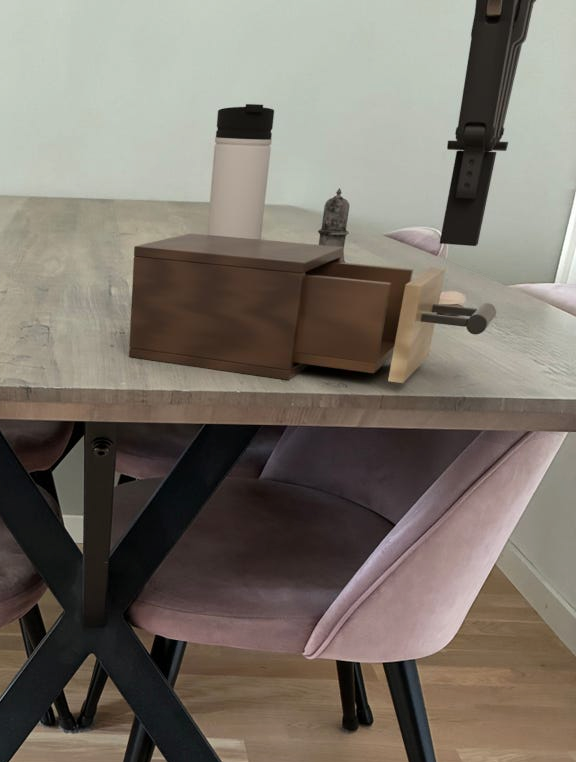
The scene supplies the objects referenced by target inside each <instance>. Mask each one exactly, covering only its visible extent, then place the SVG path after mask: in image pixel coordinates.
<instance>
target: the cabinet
mask: <svg viewBox="0 0 576 762" xmlns="http://www.w3.org/2000/svg"><path fill="white" fill-rule="evenodd" d="M343 249H344V250H345V247H344V248H343V247H336V246H325V245H319V244H313V243H303V242H291V241H290V242H289V241H279V240H269V239H261V240H258V239H247V238H236V237H225V236H214V235H207V234H201V233H191V232H190V233H185V234H182V235H178V236H173V237H168V238H165V239H160V240H156V241H151V242H147V243H144V244H138V245H135V246H134V248H133V264H132V265H133V267H132V268H133V269H132V286H131V288H132V289H131V304H130V305H131V307H130V308H131V309H130V324H129V325H130V328H129V344H128V345H129V347H128V349H129V350H128V357H129V358H133V359H141V360H149V361H156V362H162V363H169V364H177V365H184V366H190V367H195V368H201V369H203V368H204V369H210V370H216V371H217V370H218V371H222V372H223V371H224V372H230V373H237V374H243V375H244V374H245V375H252V376H256V377H257V376H258V377H264V378H272V379H279V380H286V381H290V380H291V379H293V378H294V377H295V376H296V375H298V374H299V373H301V372H302V371H304V370H305V369H306V368H308V367H309V366H311V365H310V364H303V363H295V362H294V355H295V348H296V340H297V333H298V325H299V317H300V310H301V302H302V295H303V287H304V280H305V273H304V272H307V271H309V270H311V269H314V268H316V267H319V266H321V265H323V264H326V263H328V262H330V261H332V262H342V255H343Z"/></svg>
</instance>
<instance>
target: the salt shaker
mask: <svg viewBox="0 0 576 762" xmlns="http://www.w3.org/2000/svg"><path fill="white" fill-rule="evenodd" d="M335 193H336V195H334V196H333V197H331V198H329V199H327V200H326V201H325V204H324V207H323V214H322V221H321V222H322V223H321V228H320V229H318V230H317V233H318V234H319V240H318V245H325V246H336V247H343V248H344V249H343V255H342V262H343V263H347V261H345V244H346V238H347V236H348V235H350V232H349V231H348V230H347V225H348V220H349V212H350V203H349V201H348V200H347V199H346V198H344V197H343V196H342V195H341V194H342V190H341V188H338V189H337V190H336V192H335Z"/></svg>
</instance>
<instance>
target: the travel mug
mask: <svg viewBox="0 0 576 762" xmlns="http://www.w3.org/2000/svg"><path fill="white" fill-rule="evenodd" d="M274 117H275V110H274V109H273V108H269V107H264V104H259V103H258V104H257V103H256V104H255V103H245V106H232V107H223V108H221V109H218V110H217V117H216V118H217V119H216V128H217V130H216V131H215V138H214V142H215V145H214V146H213V147H214V148H213V160H212V171H211V185H210V196H209V207H208V219H207V231H206V235H214V236H225V237H236V238H247V239H258V240H262V232H263V223H264V214H265V204H266V196H267V187H268V186H267V185H268V178H269V169H270V159H271V149H272V147H271V145H272V136H273V133H272V130H273V127H274Z"/></svg>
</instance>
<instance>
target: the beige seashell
mask: <svg viewBox="0 0 576 762" xmlns="http://www.w3.org/2000/svg"><path fill="white" fill-rule="evenodd" d="M466 302H468V299H467V297H466V295H465V294H464V293H462V292H460V291H456V290H447V291H441V295H440V300H439V304H440V305H449V306H459V307H464V306H463V305H462V304H463V303H466ZM441 315H446V316H454V315H453V314H444V313H441Z"/></svg>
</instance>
